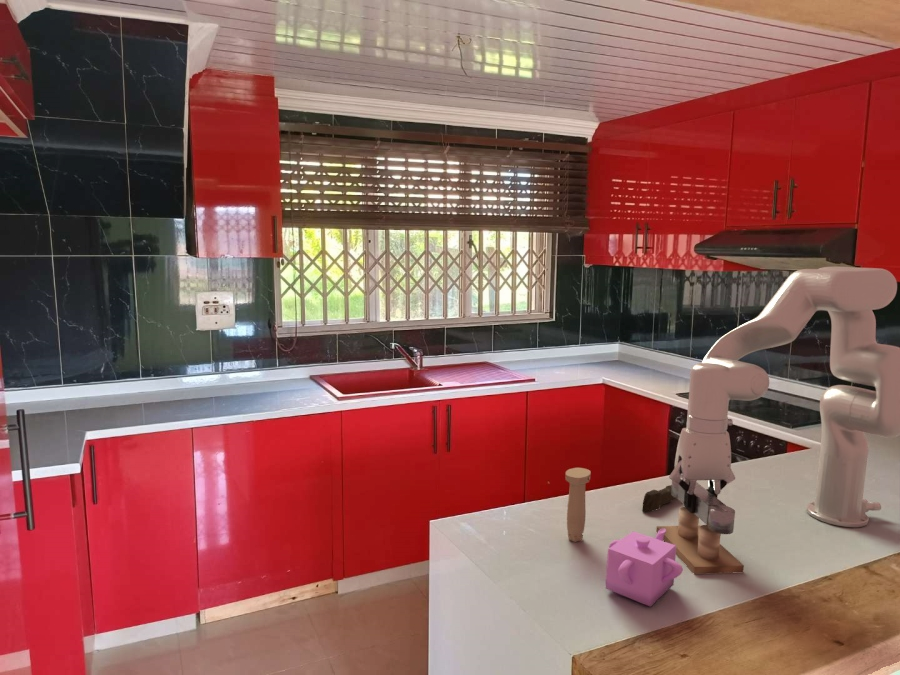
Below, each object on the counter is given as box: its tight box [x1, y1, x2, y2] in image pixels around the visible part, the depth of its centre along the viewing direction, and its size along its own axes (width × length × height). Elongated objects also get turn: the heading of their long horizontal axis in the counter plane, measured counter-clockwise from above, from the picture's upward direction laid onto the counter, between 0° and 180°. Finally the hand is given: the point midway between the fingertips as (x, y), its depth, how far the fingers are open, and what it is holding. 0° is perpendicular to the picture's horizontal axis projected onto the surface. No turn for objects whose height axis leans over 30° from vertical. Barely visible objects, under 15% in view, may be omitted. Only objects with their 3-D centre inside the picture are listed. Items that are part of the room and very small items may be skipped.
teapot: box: [605, 529, 684, 607], centre depth 116 cm, size 18×14×10 cm
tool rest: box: [655, 506, 745, 575], centre depth 132 cm, size 10×18×7 cm, turn 5°
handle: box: [564, 467, 592, 543], centre depth 136 cm, size 5×6×15 cm
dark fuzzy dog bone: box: [641, 484, 678, 513], centre depth 158 cm, size 19×4×5 cm, turn 128°
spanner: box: [671, 474, 736, 535], centre depth 131 cm, size 5×21×4 cm, turn 5°
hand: (699, 509), depth 131 cm, fingers closed on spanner, 3 cm apart
